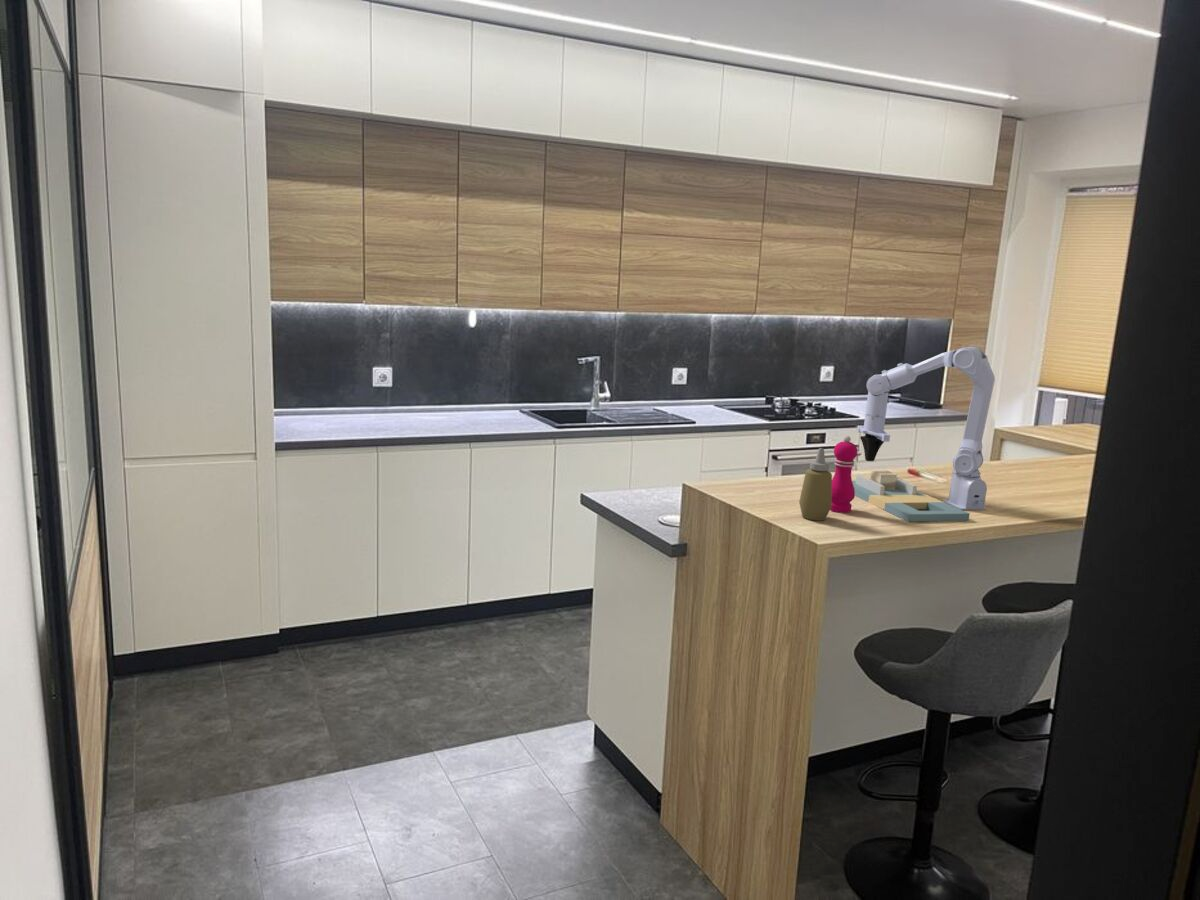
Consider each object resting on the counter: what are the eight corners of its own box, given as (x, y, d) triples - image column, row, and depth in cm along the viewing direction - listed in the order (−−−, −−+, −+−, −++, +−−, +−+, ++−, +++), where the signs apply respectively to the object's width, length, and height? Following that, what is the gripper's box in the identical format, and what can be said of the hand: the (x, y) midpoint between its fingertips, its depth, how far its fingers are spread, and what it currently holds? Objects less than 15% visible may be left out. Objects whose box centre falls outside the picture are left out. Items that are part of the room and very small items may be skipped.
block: (894, 489, 248) (896, 474, 247) (879, 489, 247) (881, 474, 246) (885, 485, 253) (886, 470, 252) (869, 485, 252) (871, 470, 251)
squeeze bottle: (791, 516, 221) (798, 447, 218) (808, 511, 227) (816, 444, 223) (819, 524, 216) (827, 453, 212) (836, 519, 221) (844, 450, 218)
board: (968, 520, 227) (971, 504, 226) (907, 521, 223) (910, 505, 222) (893, 487, 260) (895, 472, 259) (839, 487, 256) (841, 472, 255)
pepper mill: (833, 513, 226) (842, 438, 222) (819, 506, 233) (828, 433, 229) (858, 513, 228) (867, 438, 224) (843, 505, 235) (852, 433, 231)
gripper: (850, 410, 259) (844, 455, 262) (876, 419, 246) (870, 466, 248) (871, 411, 261) (865, 455, 264) (898, 420, 247) (892, 466, 250)
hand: (869, 460), depth 256 cm, fingers closed
